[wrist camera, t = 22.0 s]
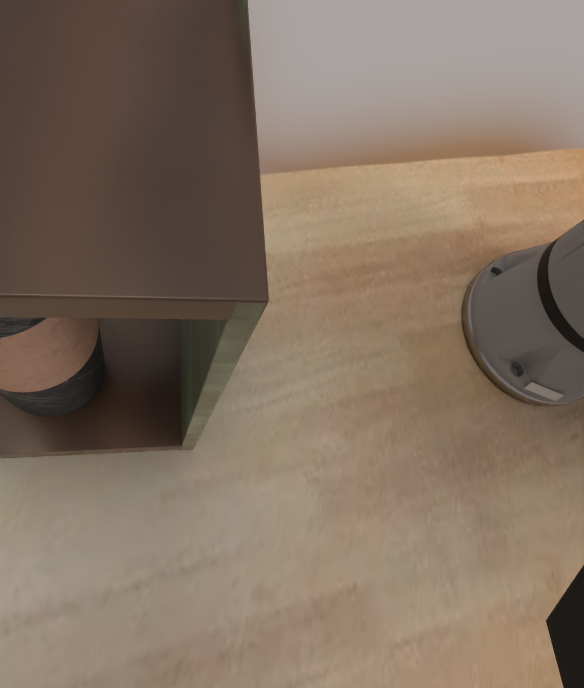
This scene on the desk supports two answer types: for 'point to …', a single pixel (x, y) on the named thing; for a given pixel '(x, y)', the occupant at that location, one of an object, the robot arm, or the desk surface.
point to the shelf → (131, 208)
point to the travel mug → (50, 363)
